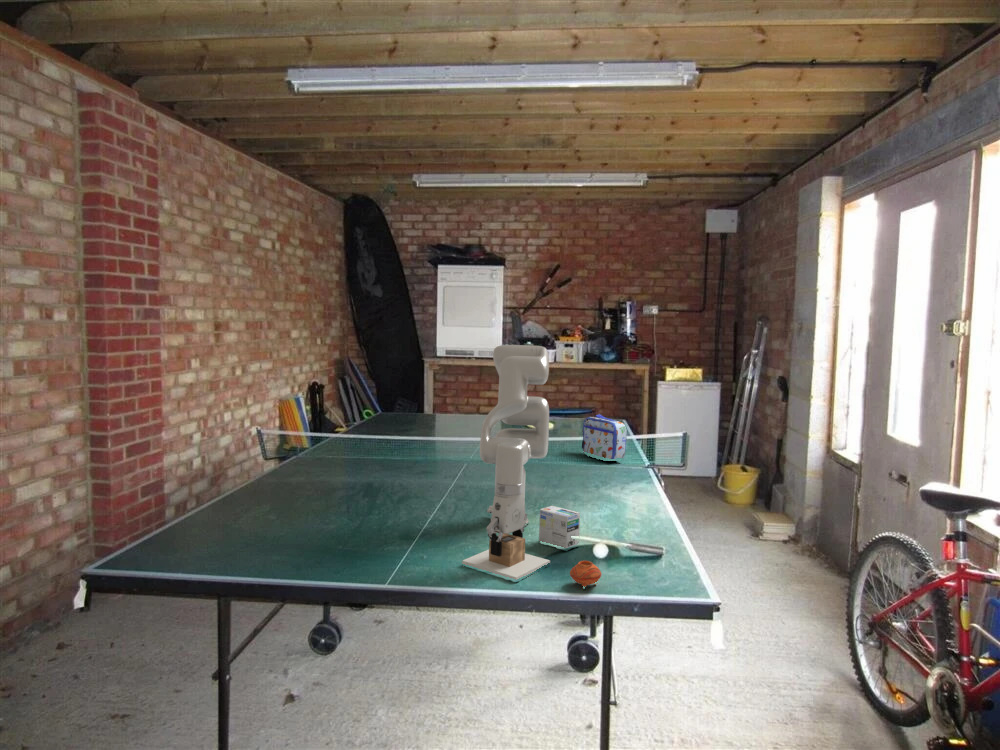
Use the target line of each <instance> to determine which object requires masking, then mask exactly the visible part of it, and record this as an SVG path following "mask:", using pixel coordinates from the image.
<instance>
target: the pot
mask: <svg viewBox="0 0 1000 750" xmlns="http://www.w3.org/2000/svg"><path fill="white" fill-rule="evenodd" d="M569 576H570V577H571V579H572V580H573V581H574V580H575V581H576V582H577V583H576V584H580V585H581V587H582V586H584V587H585V586H586V587H587V586H590V584H591V585H593V584H594V583H595V582H597V581H598V582H599V580H600V579H601V577H602V572H601V570H600V568H599V567H598V566H597V565H595V564H594V563H593V562H592V561H589V560H580V561H578V563H577V564H576V565H574V566H573V567H572V568H571V569H570V571H569ZM575 581H574V582H575Z"/></svg>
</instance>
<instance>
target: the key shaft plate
mask: <svg viewBox="0 0 1000 750" xmlns="http://www.w3.org/2000/svg"><path fill="white" fill-rule="evenodd" d="M511 540H513V538H510V537H507V538H504V539H502V540H501V541H504V542H509V541H511ZM548 563H550V564H551V560H549V559H546V558H543V557H540V556H535V555H532V554H529V553H526V552H525V560H524V561H521V562H519V563H517V564H515V565H513V566H511V567H508V566H504V565H501V564H498V563H494V562H491V561H489V549H486V550H484V551H481V552H479V553H477V554H475V555H472V556H469V557H468V558H464V559H463V560H462V561H461V565H462V564H465V565H469V566H472V567H475V568H478V569H482V570H486V571H489V572H492V573H495V574H499V575H502V576H505V577H509V578H513V579H516V580H517V579H519V578H521V577H523V576H526V575H528V574H530V573H532V572H534V571H536V570H537V569H539V568H541V567H542V566H544V565H547V564H548Z"/></svg>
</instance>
